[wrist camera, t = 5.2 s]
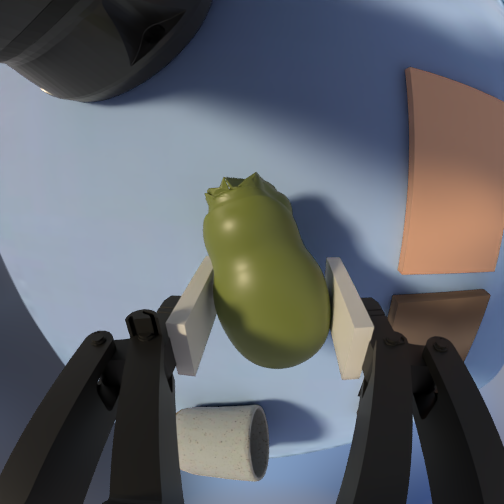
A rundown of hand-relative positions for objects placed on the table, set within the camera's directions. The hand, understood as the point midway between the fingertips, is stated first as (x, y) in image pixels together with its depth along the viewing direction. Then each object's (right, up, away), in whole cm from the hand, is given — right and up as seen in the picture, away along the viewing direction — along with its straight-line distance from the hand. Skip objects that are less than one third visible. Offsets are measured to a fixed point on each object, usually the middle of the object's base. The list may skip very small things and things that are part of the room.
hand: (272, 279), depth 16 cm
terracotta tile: (+14, +7, -1) cm, 16 cm away
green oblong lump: (0, +1, 0) cm, 1 cm away
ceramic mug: (-3, -16, +9) cm, 19 cm away
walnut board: (+14, -8, +5) cm, 17 cm away
